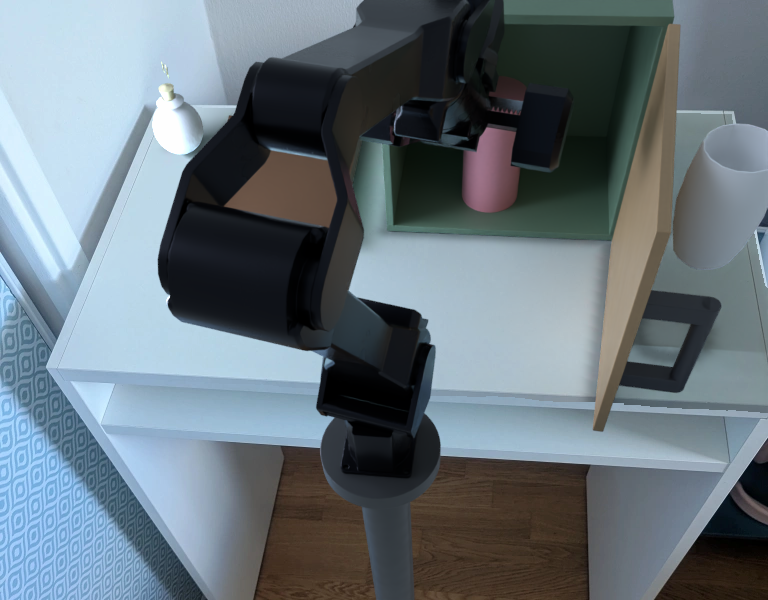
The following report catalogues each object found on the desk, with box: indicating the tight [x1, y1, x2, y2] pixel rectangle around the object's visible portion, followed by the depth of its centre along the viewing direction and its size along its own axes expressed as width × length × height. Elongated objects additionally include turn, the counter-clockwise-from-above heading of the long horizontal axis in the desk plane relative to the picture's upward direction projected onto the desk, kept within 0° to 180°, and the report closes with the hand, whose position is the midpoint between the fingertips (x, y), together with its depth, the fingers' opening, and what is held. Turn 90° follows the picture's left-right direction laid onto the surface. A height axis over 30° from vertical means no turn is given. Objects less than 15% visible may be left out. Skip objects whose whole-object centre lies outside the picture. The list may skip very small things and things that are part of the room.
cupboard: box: [381, 0, 675, 242], centre depth 80 cm, size 18×26×24 cm
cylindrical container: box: [462, 76, 527, 213], centre depth 83 cm, size 6×6×12 cm
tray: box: [224, 114, 363, 228], centre depth 91 cm, size 21×17×2 cm
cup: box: [672, 122, 768, 271], centre depth 68 cm, size 7×7×21 cm
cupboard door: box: [592, 23, 722, 433], centre depth 67 cm, size 7×26×23 cm, turn 168°
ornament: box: [152, 61, 204, 155], centre depth 92 cm, size 6×7×10 cm
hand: (473, 139), depth 74 cm, fingers open, 9 cm apart
